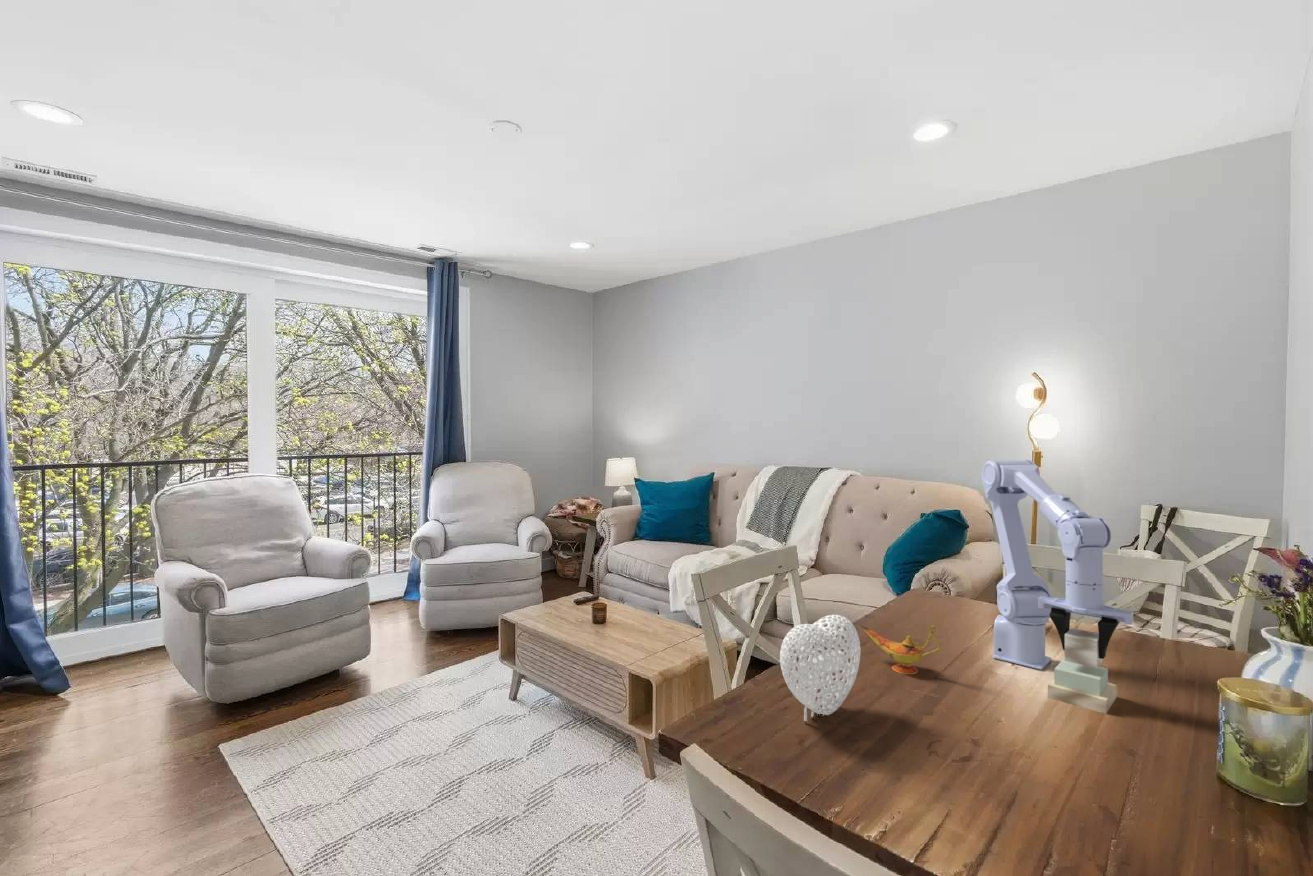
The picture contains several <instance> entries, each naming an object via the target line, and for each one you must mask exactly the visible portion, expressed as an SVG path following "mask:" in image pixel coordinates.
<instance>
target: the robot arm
mask: <svg viewBox="0 0 1313 876" xmlns="http://www.w3.org/2000/svg"><path fill="white" fill-rule="evenodd" d="M1040 473H1041V472H1040V468H1039V466H1038V465H1036V463H1035V462H1034V461H1033V460H1031V459H1024V460H1020V459H1019V460H1018V459H1017V460H994V459H993V460H992V459H991V460H988V461H986V462H985V464H984V466H983V468H982V471H981V475H980V476H981V481H982V485H983V489H984V494H985V498H986V499H987V500H989V501H990V504H991V510H992V514H993V518H994V523H995V527H996V532H997V537H998V541H999V545H1000V550H1001V554H1002V559H1003V564H1004V568H1005V573H1006V575H1005V577H1003V578H1002V579H1001V580H1000V581H999V582H998V583H997V585H996V594H997V595H996V596H997V597H996V603H997V604H996V605H997V608H998V611H999V613H1000V614H998V615H997V616H996V618H995V620H994V625H993V655H992V658H993V659H996V660H1000V661H1004V662H1007V663H1013V664H1017V665H1021V666H1025V667H1029V668H1033V669H1036V670H1043V669H1044V668H1045V667H1046V666H1047V665H1048V664H1049V663H1050V662H1051V661H1052V660H1053V659H1052V657H1051V656H1046V623H1050V620H1051V621H1052V623H1053V625H1054V626H1055V628H1056V630H1057V631H1056V632H1057V633H1058V636H1059V639H1060V643H1061V646H1062V647H1061V648H1062V650H1063V651H1065V634H1066V633H1067V632H1068V631H1069V630H1070V629H1071V627H1070V626H1071V625H1070V624H1071V616H1072V615H1071V614H1075V615H1080V616H1081V615H1082V616H1088V617H1092V618H1097V619H1100V620H1098V621H1097V629H1098V633H1099V650H1098V654H1099V658H1101V659H1103V660H1104V659H1105V658H1106V657H1107V656H1106V654H1107V651H1108V646H1109V643H1110V640H1111V638H1112V636H1113V634H1114V632H1115V631H1116V629H1117V628H1118V625H1119V624H1120V623H1123V624H1125V625H1130V626H1131V625H1133V623H1134V611H1131V610H1125V609H1121V608H1117V607H1113V606H1108V605H1105V604H1103V602H1104V595H1103V594H1104V591H1103V589H1104V588H1103V587H1104V586H1103V585H1104V581H1103V580H1104V576H1103V575H1104V570H1103V569H1104V567H1103V566H1104V564H1103V563H1104V557H1103V556H1104V555H1103V554H1104V550H1103V549H1105V548H1107V547H1108V546H1109V545H1110V543H1111V540H1112V532H1111V529H1110V526H1109V524H1108V523H1107V522H1106V521H1105V519H1104V518H1103V517H1101V516H1093V515H1092V514H1091V515H1089V514H1087V513H1086V512H1085V511H1084V509H1082V508H1081V507H1080V506H1079V505H1078V504H1076V503H1075V502H1074V501H1073V500H1072V499H1071V497H1070V496H1069V495H1068V494H1064V493H1055V491H1054V490H1053V489H1052V488H1051V487H1050V486H1049V484H1047V482H1046V481H1045V480H1044V479H1043V478H1042V477H1041V474H1040ZM1027 496H1029V497H1030V498H1032V499H1033V500H1034V501H1035V502H1037V503H1038V504H1039V505H1040V506H1039V511H1040V514H1041V515H1042V516H1043V517H1044V518H1045V519H1046V520H1047V521H1048V522H1050V524H1051V525H1053V527H1054V528H1055V529H1056V530H1057V537H1058V539H1059V541H1060V544H1061V553H1062V556H1063V557H1065V598H1061V597H1060V598H1059V597H1054V596H1053V594H1052V593H1051V591H1050V589H1049V585H1048V582H1047V581H1045V580H1044V579H1043V578H1042V577H1039V576H1038V575H1036V574H1035V572H1034V568H1033V564H1032V560H1031V557H1030V553H1029V548H1028V544H1027V540H1026V535H1025V531H1024V527H1023V523H1022V519H1021V514H1020V510H1019V507H1018V504H1019V502H1020V501H1021V500H1023V499H1025V498H1027Z"/></svg>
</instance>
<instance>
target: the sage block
mask: <svg viewBox="0 0 1313 876" xmlns="http://www.w3.org/2000/svg"><path fill="white" fill-rule="evenodd" d="M1053 672H1054V673H1053V674H1054V675H1053V677H1054V678H1053V679H1054V684H1055V685H1058V686H1062V687H1066V688H1070V689H1074V690H1078V691H1081V692H1085V693H1089V694H1093V695H1097V696H1100V695H1101V694H1102V692H1103V691H1104V689H1105V688H1106V686H1107V685H1108V683H1109V668H1108V667H1107V668H1105V667H1102V666H1098V667H1097V668H1094V667H1090V666H1086V665H1081V664H1077V663H1073V662H1069V661H1065V658H1063V659H1062V660H1061V661H1060V662H1059V664H1057V665H1056V666H1055V667H1054V671H1053Z"/></svg>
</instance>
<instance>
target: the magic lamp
mask: <svg viewBox="0 0 1313 876" xmlns="http://www.w3.org/2000/svg"><path fill="white" fill-rule="evenodd" d="M930 627H931V628H930ZM858 628H860V629H861V630H862V631H864V632H865V633H866V634H867V635H868V637H869V638H871V640H872V642H874V643H875V644H876V646H877V647H879V648H880V649H881V650H882V651H884V652H885V653H886V654H887V655H888V656H890V658H892V659H893V660H895V661H897V662H898V663H897V664H893V665H892V666H891V669H892V670H893V671H895V672H896V673H899V674H903V675H915V674H917V673H918V672H919V670H918V668H916V667H915V666H913V665H912V664H914V663H917V662H919V661H920V662H921V663H922V664H923V665H928V664H929V660H927V663H925V662H924V661H923V657H924V656H926V655H930V654H933V653H935V652H937V651H939V649H940V648H941V644H940V641H939V640H938V639H937V638H936V636H935V635H934V634H936V633H937V629H936V625H929V626H928V630H929V634H928V637H927V639H926V642H925V643H924V645H922V646H919V645H918V644H916V643H915V640H914V639H913V638H912V637H911V636H910V635H907V636H906V639H904V640H903V641H902V642H897V641H893V640H890V639H887V638H885V637H883V636H882V635H880V634H878V633H877V632H875V631H874V630H872V629H871V628H869V627H867V626H864V625H859V626H858ZM933 630H934V631H933ZM931 637H933V639H934V640H935V642H936V643H937V648H936V649H934V650H931V651H929V652H924V653H923V649H925V648H926V647H927V646H928V644H929V642H930V640H931Z"/></svg>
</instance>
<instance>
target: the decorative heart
mask: <svg viewBox="0 0 1313 876" xmlns="http://www.w3.org/2000/svg"><path fill="white" fill-rule="evenodd" d="M826 625H827V626H826ZM839 627H840V628H839ZM799 636H800V637H799ZM842 637H843V638H842ZM860 641H861V640H860V637H859V634H858V631H857V629H856V627H855V626H854V624H853V623H852V621H850V619H848V618H847V617H845V616H843V615H839V614H829V615H825V616H823V617H821V618H819V619H818V620H816V621H815V622H813V623H812V624H811V623H803V624H797V625H795V626H794V627H793V628H791V629H790V630H789V631H788V632H787V633H786V635H784V638H783V640H782V644H781V646H780V654H779V663H780V664H779V665H780V668H781V669H780V670H781V673H782V676H783V678H784V681H785V684H786V685H787V688H788V689H789V690H790V692H791V693H792V695H793V696H794V697H795V698H796V699H797V700H798V701H799V702H800V703H801V704H802V705H803V706H804V708H803V721H807V722H808V709H809V710H811V712H810V718H811V717H813V716H814V717H815V714H817V715H818V714H819V715H820V714H823V715H822V716H824V715H827V716H829V715H831V714H833V713H834V712H836V711H837V710H838V709H839V708H841V705H842V704H843V702H845V700H846V698H847V697H848V695H849V693H850V691H851V689H852V687H853V686H854V684H855V681H856V678H857V675H858V673H859V668H860V662H861V653H862V652H861V642H860ZM825 648H826V649H825ZM842 650H843V651H842ZM797 659H798V660H797ZM849 659H850V660H849ZM840 671H841V672H840ZM833 674H835V675H833ZM834 679H835V680H834ZM818 690H819V692H818ZM816 698H817V699H816ZM821 706H822V707H821ZM818 709H819V710H818Z"/></svg>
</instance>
